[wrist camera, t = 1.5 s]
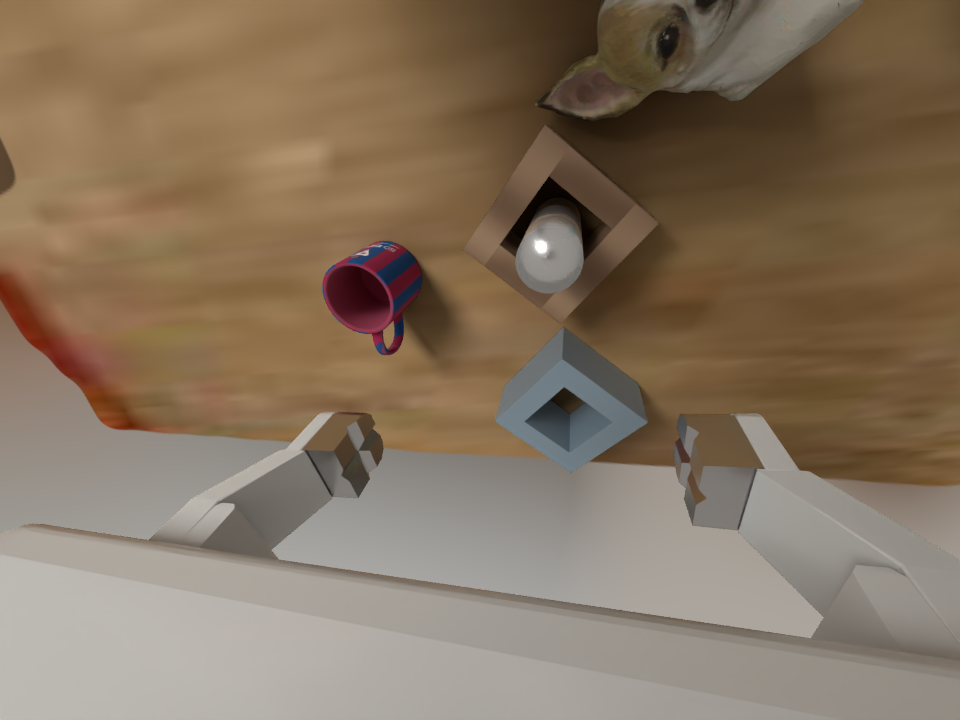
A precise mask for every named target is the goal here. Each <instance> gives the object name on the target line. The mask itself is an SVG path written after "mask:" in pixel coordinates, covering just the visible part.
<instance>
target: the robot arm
mask: <svg viewBox="0 0 960 720" xmlns="http://www.w3.org/2000/svg"><path fill="white" fill-rule="evenodd" d="M374 425H375V422H374V420H373V418H372V416H371V415H370V414H367V413H351V412H323V413H320V414H318V415H317V416H316V417H315V419H314V420H313V421H312V422H311V423H310V424H309V425H308V426H307V427H306V428H305V429H304V430H303V431H302V432H301V434H300V435H299V436H298V437H297V438H296V439H295V440H294V441H293V442H292V443H291V444H290V445H289V446H288V448H287V449H286V450H280V451H278V452H276V453H274V454H272V455H271V456H269V457H267V458H265V459H263V460H261V461H260V462H258V463H256V464H254V465H252V466H251V467H249V468H247V469H245V470H243V471H242V472H240V473H238V474H236V475H234V476H232V477H231V478H229V479H227V480H225V481H223V482H221V483H220V484H218V485H216V486H214V487H212V488H210V489H209V490H207V491H205V492H203V493H201V494H199V495H198V496H196V497H194V498H192V500H190V501H189V502H188V503H187V504H186V505H185V506H184V507H183V508H182V509H181V510H180V511H179V512H178V513H177V514H175V515H174V516H173V517H172V518H171V519H170V520H169V521H168V522H167V523H166V524H165V525H164V526H163V527H162V528H161V529H160V530H159V531H158V532H157V533H155V534H154V535H153V536H152V537H151V538H150V539H149V540H143V539H137V538H131V537H124V536H117V535H110V534H104V533H97V532H90V531H83V530H76V529H70V528H63V527H57V526H51V525H45V524H28V525H23V526H20V527H17V528H14V529H11V530H8V531H6V532H3V533H1V534H0V720H960V560H959V559H958V558H956V557H954V556H953V555H951V554H949V553H948V552H946V551H944V550H942V549H941V548H939V547H937V546H936V545H934V544H932V543H931V542H929V541H927V540H925V539H923V538H922V537H920V536H919V535H916V534H915V533H913V532H912V531H910V530H908V529H906V528H905V527H903V526H902V525H899V524H898V523H896V522H895V521H893V520H891V519H890V518H888V517H886V516H885V515H883V514H881V513H879V512H878V511H876V510H874V509H872V508H871V507H869V506H868V505H866V504H864V503H862V502H861V501H859V500H857V499H856V498H854V497H852V496H851V495H849V494H847V493H845V492H844V491H842V490H840V489H838V488H837V487H835V486H833V485H832V484H830V483H828V482H827V481H825V480H823V479H822V478H820V477H818V476H816V475H815V474H813V473H811V472H810V471H800V470H799V469H798V467H797V466H796V464H795V463H794V461H793V460H792V458H791V457H790V455H789V454H788V453H787V451H786V450H785V448H784V447H783V445H782V444H781V442H780V441H779V439H778V438H777V437H776V435H775V434H774V432H773V431H772V429H771V428H770V426H769V425H768V423H767V422H766V421H765V419H764V418H763V416H761V415H760V414H758V413H745V414H680V416H679V419H678V425H677V429H678V432H679V435H680V438H679V439H678V440H677V441H676V442H675V450H674V458H675V468H676V473H677V477H678V480H679V483H681V485H683V486H684V487H685V488H686V490H685V497H684V500H685V503H686V506H687V510H688V513H689V516H690V519H691V522H692V525H693V526H701V527H712V528H720V529H721V528H722V529H730V530H739V532H738V533H739V534H740V535H741V536H743V537H744V539H746V541H748V542H749V544H751V545H752V546H753V547H754V548H755V549H756V550H757V551H758V552H759V553H760V554H761V555H762V556H763V557H764V558H765V559H766V560H767V561H768V562H769V563H770V564H771V565H772V566H773V567H774V568H775V569H776V570H777V571H778V572H779V573H780V574H781V575H782V576H783V577H784V578H785V579H786V580H787V581H788V582H789V583H790V584H791V585H792V586H793V587H794V588H795V589H796V590H797V591H798V592H799V593H800V594H801V595H802V596H803V597H804V598H805V599H806V600H807V601H808V602H809V603H810V604H811V605H812V606H813V607H814V608H815V609H816V610H817V611H818V612H819V613H820V614H821V615H822V616H823V617H824V618H823V620H822V621H821V623H820V625H819V627H818V628H817V629H816V631H815V633H814V634H813V636H812V638H805V637H798V636H791V635H785V634H778V633H771V632H764V631H758V630H751V629H744V628H737V627H731V626H724V625H717V624H710V623H704V622H696V621H690V620H683V619H677V618H670V617H663V616H656V615H650V614H643V613H636V612H629V611H623V610H616V609H609V608H602V607H596V606H589V605H582V604H575V603H569V602H562V601H555V600H548V599H542V598H535V597H527V596H521V595H515V594H508V593H501V592H494V591H487V590H481V589H474V588H467V587H460V586H454V585H447V584H440V583H433V582H427V581H419V580H413V579H406V578H399V577H393V576H386V575H379V574H372V573H365V572H359V571H352V570H345V569H338V568H331V567H325V566H318V565H311V564H304V563H298V562H291V561H284V560H279V559H278V558H277V557H276V555H275V554H274V553H273V552H272V551H271V550H272V549H273V548H274V547H275V546H276V545H278V544H279V543H280V542H281V541H282V540H283V539H285V538H286V537H287V536H288V535H290V534H291V533H292V532H293V531H294V530H295V529H297V528H298V527H299V526H300V525H301V524H303V523H304V522H305V521H306V520H307V519H309V518H310V517H311V516H312V515H313V514H315V513H316V512H317V511H318V510H319V509H320V508H321V507H323V506H324V505H325V504H326V503H328V502H329V501H330V500H331V499H332V497H345V498H359V496H360V494H361V493H362V491H363V489H364V488H365V486H366V484H367V483H368V481H369V480H370V477H369V472H370V471H372V470H373V469H375V468H376V467H377V466H378V464H379V462H380V461H381V459H382V454H383V441H382V439H381V436H380V435H379V434H378V433H377V432H376V431H375V430H373V428H374Z"/></svg>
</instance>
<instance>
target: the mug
mask: <svg viewBox="0 0 960 720" xmlns="http://www.w3.org/2000/svg"><path fill="white" fill-rule="evenodd" d="M421 284H422V276H421V271H420V268H419V265H418V263H417V261H416V260H415V258H414V257H413V256H412V254H411V253H410V252H409V251H408V250H406V249H405V248H404V247H402V246H400V245H399V244H397V243H393V242H389V241H379V242H375V243H373V244H371V245H369V246H368V247H366V248H364V249H362V250H360V251H359V252H357V253H355V254H353V255H351V256H349V257H348V258H346V259H344V260H342V261H340V262H338V263H337V264H335V265H333V266H332V267H331V268H330V269H329V270H328V271H327V272H326V274H325V277H324V279H323V295H324V299H325V302H326V304H327V306H328V308H329V310H330V311H331V313H332V314H333V315H334V316H335V317H336V319H337V320H338V321H340V322H341V323H342V324H343V325H345V326H346V327H348V328H349V329H351V330H353V331H356V332H359V333H364V334H372V336H373V341H374V344H375V347H376V349H377V351H378V352H379V353H380V354H382V355H391V354H394V353H395V352H396V351H397V350H398V349H399V347H400V345H401V343H402V340H403V334H404V326H403V316H402V311H403V310H404V309H405V308H406V307H407V306H408V305H409V304H410V303H411V302H412V301H413V300H414V298H415V297H416V296H417V295H418V293H419V291H420V289H421ZM393 320H394V327H395V335H394V340H393V343H392V344H391V346H390V347H389V348H388V349H387V348H386V347H385V344H384V340H383V330H384V329H385V328H386V327H387V326H388V325H389V324H390V323H391V322H392V321H393Z"/></svg>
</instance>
